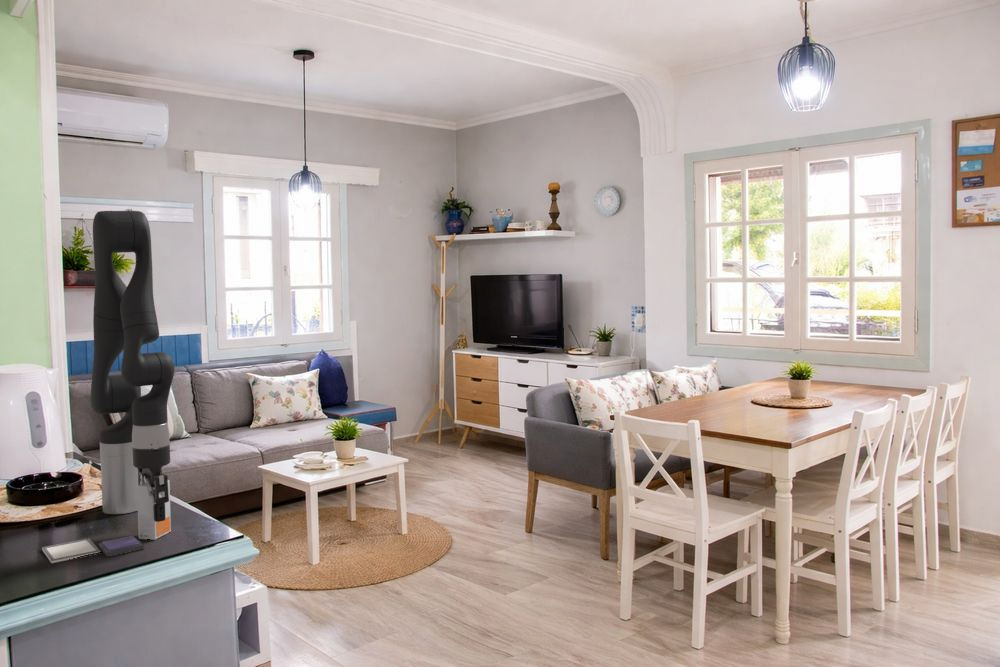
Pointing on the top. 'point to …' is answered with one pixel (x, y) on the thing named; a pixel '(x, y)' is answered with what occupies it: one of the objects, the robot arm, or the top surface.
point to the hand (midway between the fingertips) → (154, 516)
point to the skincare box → (151, 515)
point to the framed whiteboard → (70, 550)
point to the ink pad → (120, 545)
